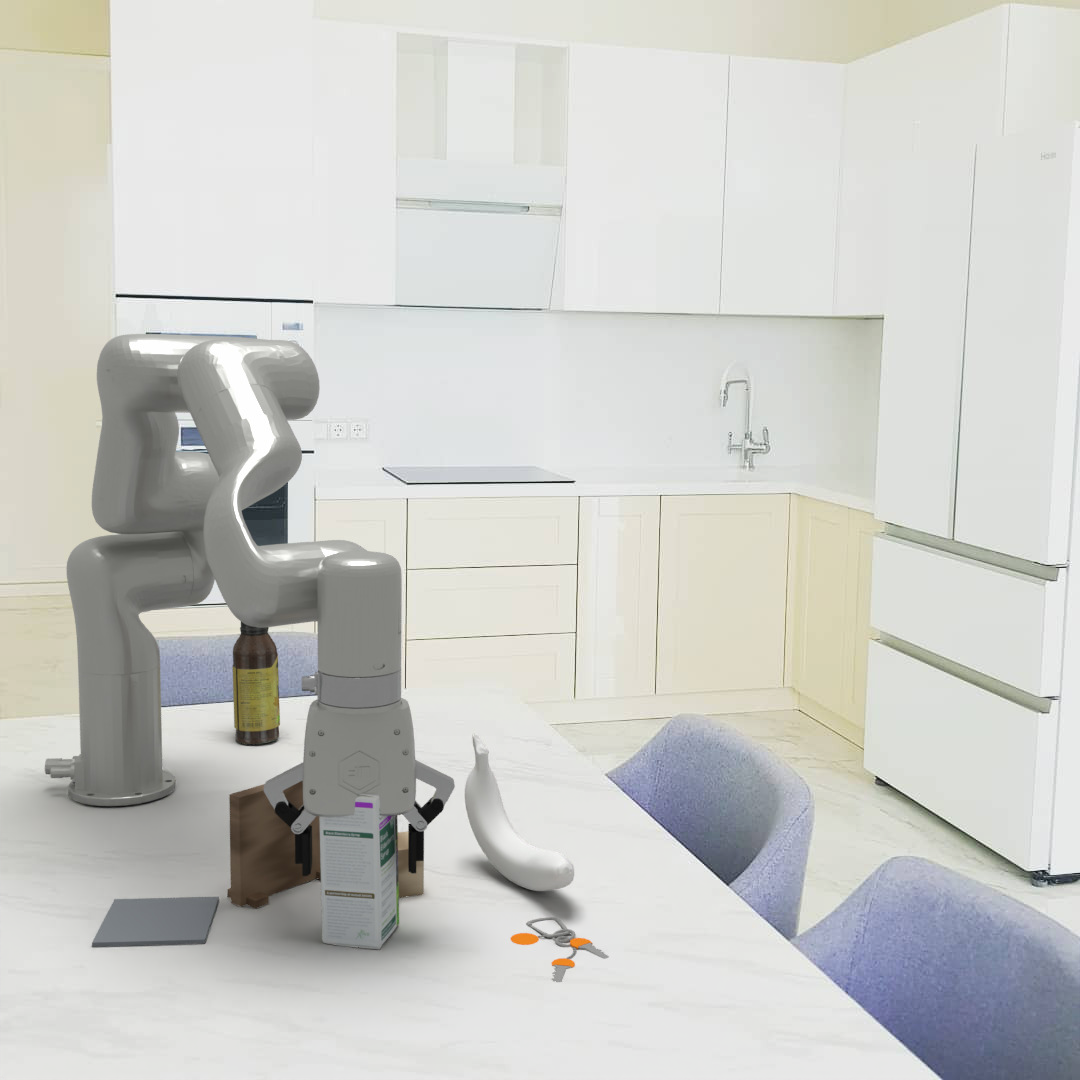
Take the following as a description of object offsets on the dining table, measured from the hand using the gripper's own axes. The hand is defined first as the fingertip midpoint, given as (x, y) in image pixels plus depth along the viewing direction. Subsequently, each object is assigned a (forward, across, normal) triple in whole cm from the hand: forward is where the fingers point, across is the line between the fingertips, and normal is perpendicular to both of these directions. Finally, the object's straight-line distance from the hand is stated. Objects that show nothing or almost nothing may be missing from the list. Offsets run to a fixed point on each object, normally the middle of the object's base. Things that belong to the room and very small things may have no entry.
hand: (360, 869), depth 125 cm
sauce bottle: (+6, -16, +66) cm, 68 cm away
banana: (+7, +16, +11) cm, 21 cm away
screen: (+6, -8, +12) cm, 16 cm away
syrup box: (+6, 0, 0) cm, 6 cm away
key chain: (+7, +18, -4) cm, 20 cm away
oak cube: (+6, +3, +11) cm, 13 cm away
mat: (+6, -19, +4) cm, 20 cm away
